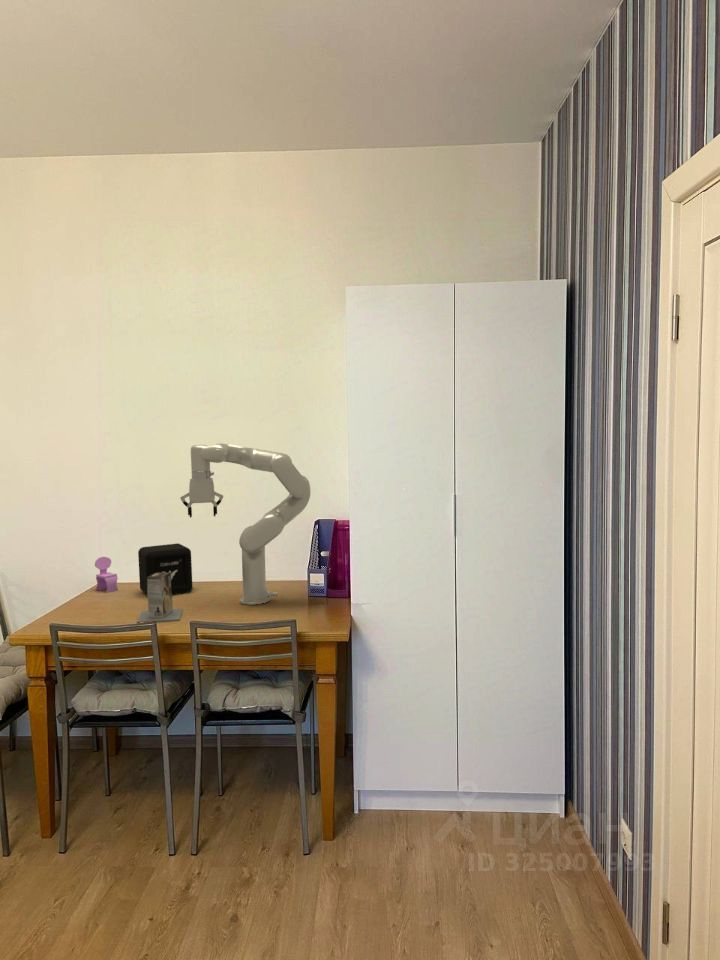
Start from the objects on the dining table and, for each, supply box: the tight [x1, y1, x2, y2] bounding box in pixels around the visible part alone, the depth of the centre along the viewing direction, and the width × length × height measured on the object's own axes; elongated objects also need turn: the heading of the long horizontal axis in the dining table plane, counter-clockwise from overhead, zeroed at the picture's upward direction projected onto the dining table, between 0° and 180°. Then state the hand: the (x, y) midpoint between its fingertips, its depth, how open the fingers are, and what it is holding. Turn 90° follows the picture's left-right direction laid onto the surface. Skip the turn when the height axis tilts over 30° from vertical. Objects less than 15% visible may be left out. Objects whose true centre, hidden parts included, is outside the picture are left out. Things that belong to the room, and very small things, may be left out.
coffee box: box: [146, 572, 174, 618], centre depth 309 cm, size 9×6×16 cm
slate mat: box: [136, 608, 184, 624], centre depth 310 cm, size 16×16×1 cm
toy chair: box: [94, 556, 119, 594], centre depth 354 cm, size 8×9×15 cm
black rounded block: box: [137, 542, 193, 596], centre depth 348 cm, size 20×15×20 cm
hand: (202, 516), depth 326 cm, fingers open, 9 cm apart
